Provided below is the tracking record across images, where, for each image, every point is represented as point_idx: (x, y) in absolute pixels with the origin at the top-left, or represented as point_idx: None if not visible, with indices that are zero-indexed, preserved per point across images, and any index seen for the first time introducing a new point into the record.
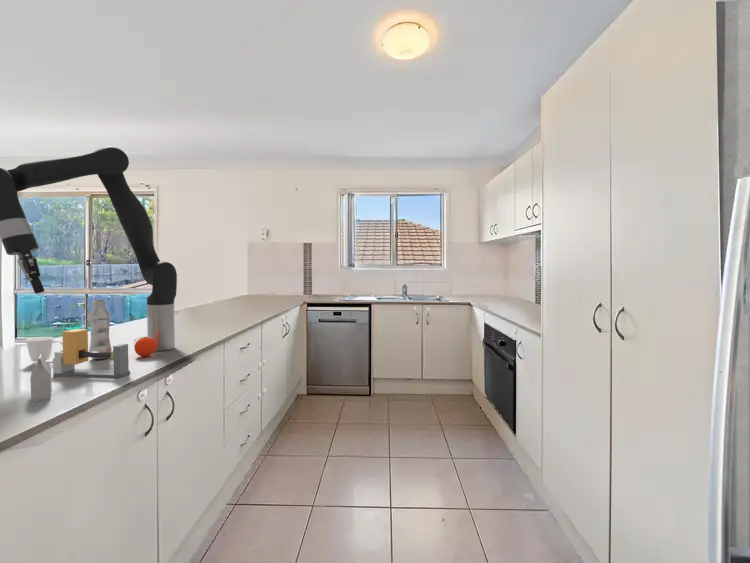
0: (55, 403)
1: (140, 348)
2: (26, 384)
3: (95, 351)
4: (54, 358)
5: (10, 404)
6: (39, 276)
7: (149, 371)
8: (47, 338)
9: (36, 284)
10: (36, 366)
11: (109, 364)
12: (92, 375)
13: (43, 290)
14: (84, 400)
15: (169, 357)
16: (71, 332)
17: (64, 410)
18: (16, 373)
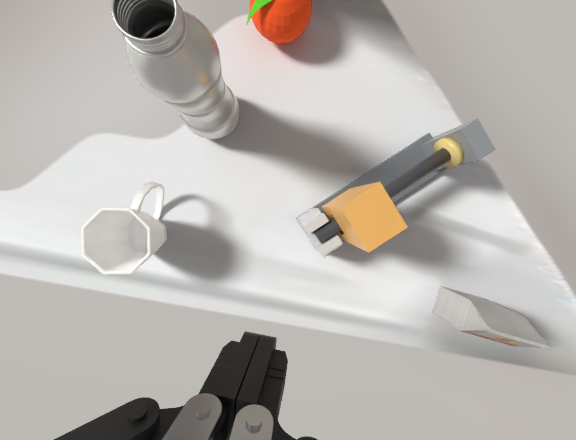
0: (523, 302)
1: (299, 31)
2: (349, 304)
3: (229, 128)
4: (327, 255)
5: (470, 351)
6: (272, 432)
7: (442, 98)
8: (100, 216)
9: (279, 406)
10: (534, 346)
11: (299, 128)
12: (396, 200)
13: (274, 341)
14: (544, 265)
15: None
16: (395, 234)
17: (571, 303)
18: (227, 296)
